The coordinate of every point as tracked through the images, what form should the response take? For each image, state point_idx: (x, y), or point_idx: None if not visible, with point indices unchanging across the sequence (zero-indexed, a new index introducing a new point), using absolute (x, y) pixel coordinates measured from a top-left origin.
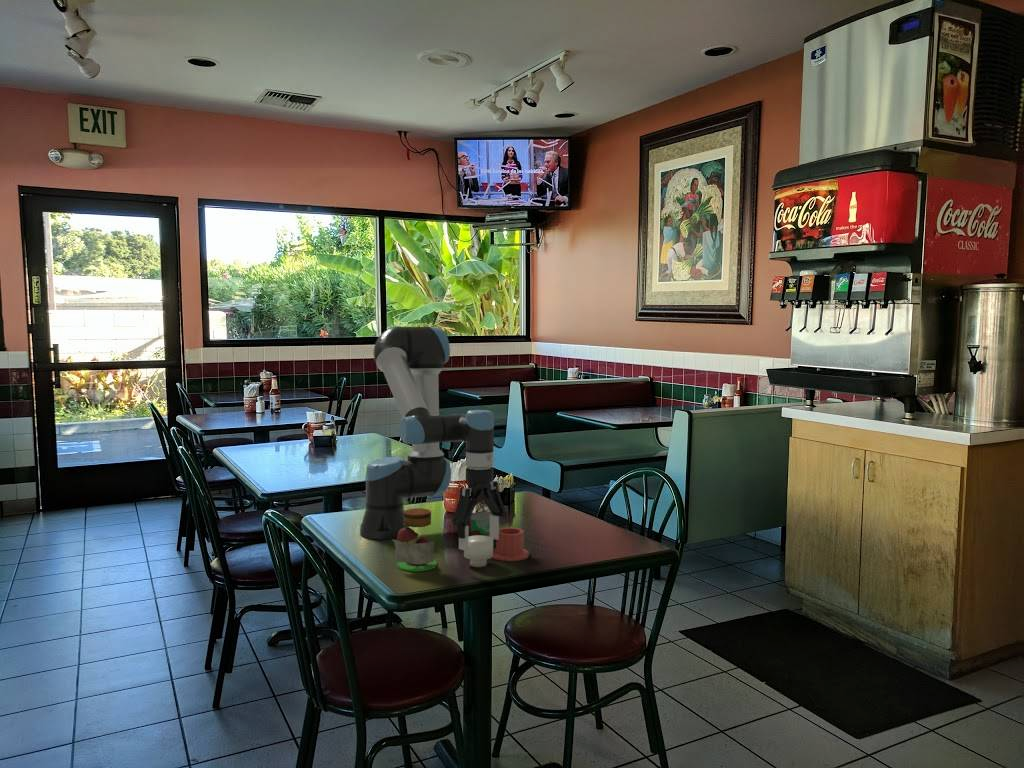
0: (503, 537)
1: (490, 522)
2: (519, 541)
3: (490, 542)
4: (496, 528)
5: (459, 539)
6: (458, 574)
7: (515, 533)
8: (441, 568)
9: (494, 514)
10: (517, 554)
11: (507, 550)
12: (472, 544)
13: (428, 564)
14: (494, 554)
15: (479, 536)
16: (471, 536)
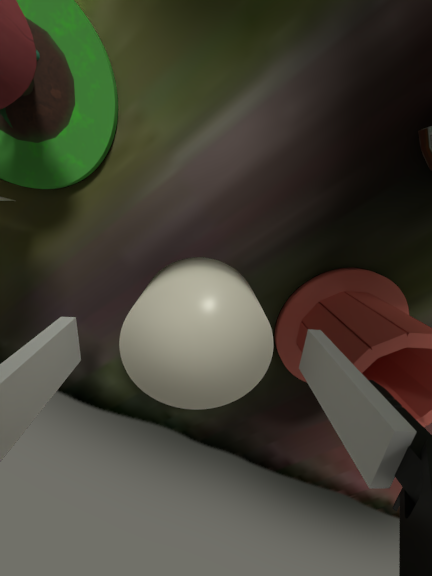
0: None
1: (354, 391)
2: None
3: (194, 408)
4: (323, 405)
5: (27, 348)
6: (76, 302)
7: (427, 374)
8: (78, 215)
9: (409, 466)
10: None
11: None
12: (124, 359)
13: (48, 151)
14: (299, 305)
15: (247, 326)
16: (223, 292)
